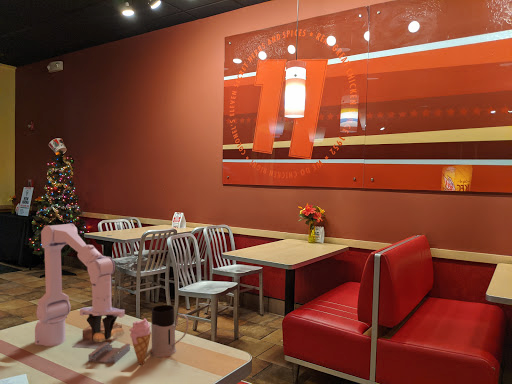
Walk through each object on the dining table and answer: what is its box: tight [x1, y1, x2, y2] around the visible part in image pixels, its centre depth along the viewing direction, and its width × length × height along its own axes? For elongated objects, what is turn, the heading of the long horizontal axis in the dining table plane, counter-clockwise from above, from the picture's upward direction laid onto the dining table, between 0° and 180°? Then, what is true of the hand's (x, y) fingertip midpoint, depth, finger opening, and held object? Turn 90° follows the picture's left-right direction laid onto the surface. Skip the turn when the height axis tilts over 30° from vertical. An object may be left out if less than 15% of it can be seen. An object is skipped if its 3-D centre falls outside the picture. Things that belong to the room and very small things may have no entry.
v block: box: [88, 342, 131, 365], centre depth 129 cm, size 9×10×3 cm
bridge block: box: [71, 321, 126, 350], centre depth 143 cm, size 12×15×5 cm
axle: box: [93, 327, 125, 343], centre depth 129 cm, size 3×14×3 cm, turn 170°
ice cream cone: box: [129, 318, 152, 366], centre depth 125 cm, size 7×6×15 cm
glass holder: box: [150, 304, 189, 358], centre depth 133 cm, size 9×14×15 cm, turn 69°
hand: (102, 337), depth 125 cm, fingers closed on axle, 3 cm apart
